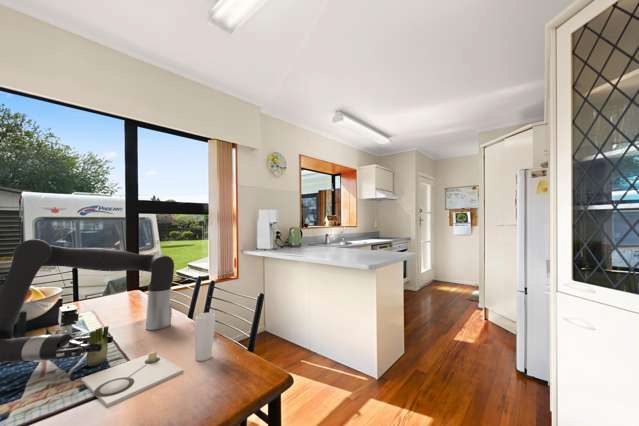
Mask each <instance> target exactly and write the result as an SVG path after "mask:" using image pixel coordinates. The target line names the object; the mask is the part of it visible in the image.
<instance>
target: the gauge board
mask: <svg viewBox="0 0 639 426" xmlns="http://www.w3.org/2000/svg"><path fill="white" fill-rule="evenodd" d="M183 373H184V369H183V368H182V367H180V366H178V365H176V364H174V363H173V362H171V361H169V360H168V359H166V358H164V357H162V356H160V355H159V354H158V352H157V351H156V350H154V351H150V352H148V354H145V355H143V356H140V357H136V358H134V359H131V360H128V361H126V362H123V363H120V364H117V365H115V366H112V367H109V368H107V369H103V370H100V371H97V372H95V373H92V374H90V375H87V376H84V377H81V379H80V382H81V383H82V384H83V385H84V386H86V388H87V389H88V390H89V391H91V393H92V394H93V395H94V396H95V397H96V398H97V399H98V400H99V401H101V403H102V405H104V406H105V407H106V408H108V407H111V406H112V405H115V404H117V403H119V402H121V401H123V400H125V399H128V398H130V397H133V396H134V395H136V394H138V393H141V392H142V391H145V390H148V389H149V388H151V387H154V386H156V385H159V384H160V383H162V382H165V381H167V380H169V379H172V378H173V377H176V376H178V375H180V374H183Z"/></svg>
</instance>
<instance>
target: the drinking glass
mask: <svg viewBox="0 0 639 426" xmlns="http://www.w3.org/2000/svg"><path fill="white" fill-rule="evenodd" d="M215 329H216V314H215V313H213V312H202V313H198V314H197V315H195V319H194V345H195V346H194V347H195V348H194V349H195V350H194V351H195V354H194V355H195V357H194V359H195V360H196V361H197V362H205V361H207V360H209V359H211V358H212V354H213V353H212V352H213V351H212V350H213V344H214V337H215V335H214V334H215Z"/></svg>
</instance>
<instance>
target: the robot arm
mask: <svg viewBox="0 0 639 426" xmlns="http://www.w3.org/2000/svg"><path fill="white" fill-rule="evenodd" d="M12 256H13V257H12V261H11V265H10V269H9V271H8V273H7V276H6V278H5V280H4V282H3V284H2V286H1V288H0V363H2V362H3V363H5V362H8V363H9V362H11V363H13V362H25V361H29V362H30V361H32V362H35V361H36V362H37V361H52V360H63V359H70V358H77V357H81V356H82V354H87V352H97V351H101V350H102V344H90V333H85V334H83V336H77V337H72V334H60V333H54V334H53V333H52V334H41V335H35V336H31V335H30V336H21V337H14V338H13V335H14V326H15V323H16V321H17V319H18V316H19V314H20V313H21V310H22V308H23V306H24V304H25V301H26V298H27V295H28V293H29V290H30V288H31V285H32V283H33V282H34V279H35V277H36V275H37V274H38V272H39V271H40V269H41V268H42V267H66V268H72V269H80V270H88V271H96V272H97V271H98V272H124V271H139V272H142V271H143V272H146V273H148V272H149V273H151V274H150V282H149V284H148V286H147V300H146V301H147V305H146V319H145V329H146V330H148V331H156V330H157V331H158V330H162V329H165V328H167V327H168V326H171V325H172V312H173V309H172V308H173V305H172V304H171V296H172V295H171V294H172V292H171V291H172V284H173V281H174V272H175V271H174V270H175V262H174V259H172V257H171V256H168V255H165V254H142V253H141V254H140V253H134V252H130V251H126V250H119V249H112V248H106V247H105V248H102V247H65V246H58V245H51V244H49V243H48V242H47V241H45V240H42V239H38V238H37V239H35V238H31V239H28V240H24V241H22V242H20V243H19V244H17V246H15V248H14V249H13V252H12ZM113 341H114V336H113V335H108V337H107V342H108V344H111V343H113Z"/></svg>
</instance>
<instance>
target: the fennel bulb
mask: <svg viewBox="0 0 639 426" xmlns="http://www.w3.org/2000/svg"><path fill="white" fill-rule="evenodd" d="M89 334H90V344H102V350H101V351H97V352H87V353H86V358H85V359H86V360H85V364H86V365H87V366H88V367H96V366H99V365H102V364H103V363H105V361H106V359H107V357H108V348H109V347H108V346H109V345H108V344H109V343H108V342H107V337H108V336H109V325H106V326H103V327H98V328H96V329H95V330H91V331H90V332H89Z"/></svg>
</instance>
